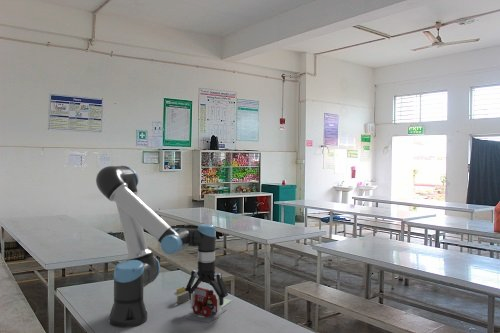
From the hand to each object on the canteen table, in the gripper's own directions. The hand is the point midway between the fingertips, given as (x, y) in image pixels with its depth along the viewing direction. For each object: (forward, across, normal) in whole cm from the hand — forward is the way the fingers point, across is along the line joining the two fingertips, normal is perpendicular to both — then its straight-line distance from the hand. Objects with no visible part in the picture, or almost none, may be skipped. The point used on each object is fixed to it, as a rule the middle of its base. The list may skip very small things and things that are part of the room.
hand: (206, 310), depth 176 cm
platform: (+2, +18, -9) cm, 20 cm away
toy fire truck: (+1, 0, 0) cm, 1 cm away
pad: (+2, +2, -14) cm, 15 cm away
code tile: (+2, 0, 0) cm, 2 cm away
